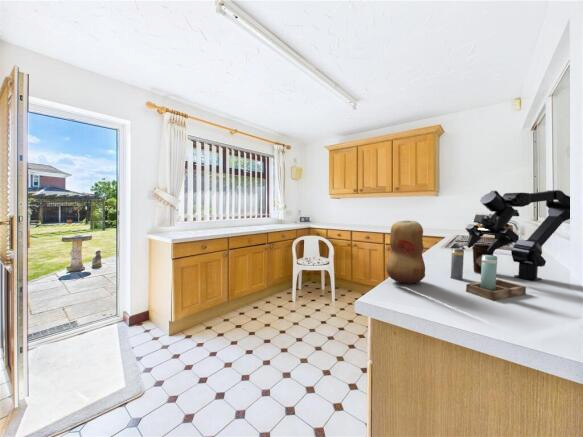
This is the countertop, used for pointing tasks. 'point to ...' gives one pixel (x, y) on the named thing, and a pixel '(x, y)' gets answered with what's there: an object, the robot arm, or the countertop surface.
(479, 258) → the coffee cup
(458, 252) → the plug charcoal
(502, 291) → the slot rack
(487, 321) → the countertop surface
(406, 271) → the butternut squash
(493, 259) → the plug teal
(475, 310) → the countertop surface
